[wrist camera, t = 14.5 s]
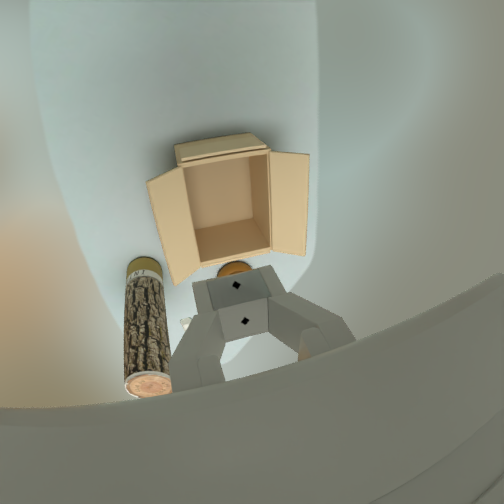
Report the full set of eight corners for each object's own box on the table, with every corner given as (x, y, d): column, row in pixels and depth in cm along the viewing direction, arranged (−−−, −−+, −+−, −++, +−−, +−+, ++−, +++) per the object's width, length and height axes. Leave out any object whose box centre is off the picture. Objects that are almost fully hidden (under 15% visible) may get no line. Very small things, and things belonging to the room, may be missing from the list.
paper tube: (168, 265, 55) (185, 381, 35) (150, 289, 56) (160, 403, 37) (138, 249, 51) (138, 368, 31) (120, 274, 53) (116, 392, 33)
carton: (173, 141, 42) (176, 159, 34) (250, 128, 44) (271, 144, 36) (190, 234, 52) (198, 269, 44) (256, 221, 54) (274, 252, 47)
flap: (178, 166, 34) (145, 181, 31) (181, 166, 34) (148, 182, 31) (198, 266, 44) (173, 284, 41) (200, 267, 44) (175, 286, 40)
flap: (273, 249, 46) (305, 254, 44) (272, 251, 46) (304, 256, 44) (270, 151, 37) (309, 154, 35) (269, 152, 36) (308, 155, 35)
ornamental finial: (254, 282, 63) (220, 293, 62) (248, 255, 59) (211, 266, 58) (266, 308, 57) (229, 320, 56) (261, 281, 52) (220, 294, 51)
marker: (201, 353, 74) (183, 315, 64) (208, 355, 74) (191, 317, 64) (197, 362, 72) (178, 324, 62) (205, 363, 72) (187, 326, 62)
